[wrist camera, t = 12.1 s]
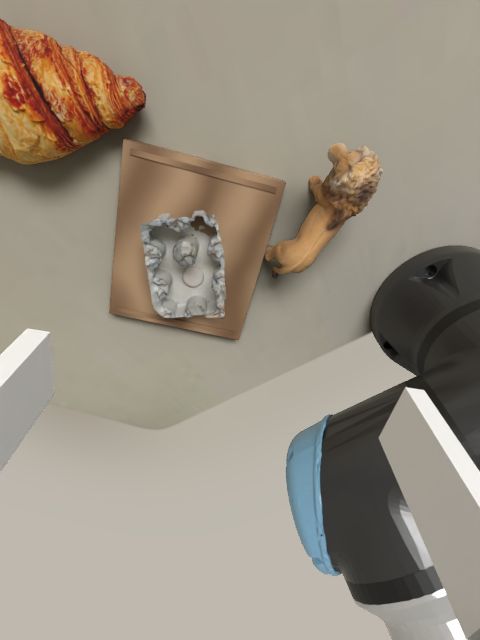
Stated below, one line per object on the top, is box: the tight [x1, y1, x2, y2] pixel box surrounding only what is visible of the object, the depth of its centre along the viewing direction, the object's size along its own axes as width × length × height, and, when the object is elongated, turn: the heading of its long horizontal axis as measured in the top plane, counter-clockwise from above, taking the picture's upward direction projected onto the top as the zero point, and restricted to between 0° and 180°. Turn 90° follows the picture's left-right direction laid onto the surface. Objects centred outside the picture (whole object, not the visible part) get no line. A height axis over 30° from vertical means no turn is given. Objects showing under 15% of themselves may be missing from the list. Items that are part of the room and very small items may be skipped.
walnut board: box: [109, 138, 286, 340], centre depth 37 cm, size 15×18×2 cm
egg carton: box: [140, 210, 226, 319], centre depth 35 cm, size 11×8×4 cm
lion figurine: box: [264, 143, 383, 279], centre depth 32 cm, size 15×5×9 cm, turn 157°
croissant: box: [0, 19, 146, 165], centre depth 29 cm, size 21×10×8 cm, turn 93°
